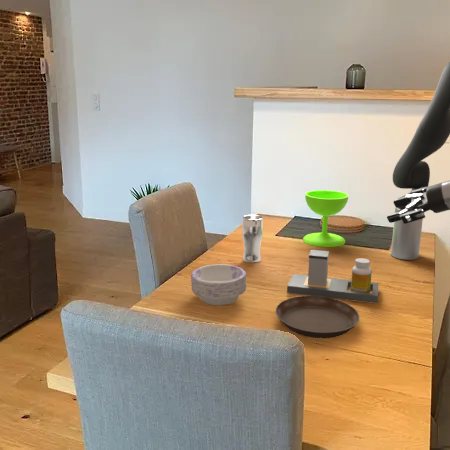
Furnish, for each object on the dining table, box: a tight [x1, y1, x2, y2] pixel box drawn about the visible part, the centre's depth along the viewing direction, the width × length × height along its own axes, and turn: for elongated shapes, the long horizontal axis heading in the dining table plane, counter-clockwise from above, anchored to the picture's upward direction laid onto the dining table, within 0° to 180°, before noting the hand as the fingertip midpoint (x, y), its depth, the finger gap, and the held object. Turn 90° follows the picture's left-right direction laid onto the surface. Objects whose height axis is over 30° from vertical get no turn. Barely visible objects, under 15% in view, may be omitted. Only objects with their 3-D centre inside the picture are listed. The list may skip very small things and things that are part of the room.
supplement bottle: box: [350, 257, 373, 293], centre depth 149 cm, size 5×5×10 cm
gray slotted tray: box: [286, 249, 379, 304], centre depth 151 cm, size 10×25×11 cm, turn 73°
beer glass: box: [241, 214, 264, 264], centre depth 176 cm, size 7×7×15 cm
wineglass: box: [302, 189, 349, 248], centre depth 198 cm, size 16×16×18 cm
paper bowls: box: [190, 263, 247, 306], centre depth 145 cm, size 15×15×8 cm
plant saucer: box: [275, 295, 360, 339], centre depth 132 cm, size 21×21×3 cm
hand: (391, 211), depth 149 cm, fingers open, 8 cm apart
